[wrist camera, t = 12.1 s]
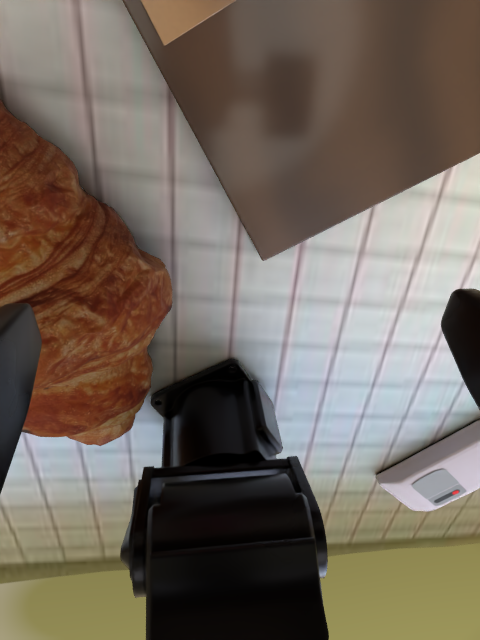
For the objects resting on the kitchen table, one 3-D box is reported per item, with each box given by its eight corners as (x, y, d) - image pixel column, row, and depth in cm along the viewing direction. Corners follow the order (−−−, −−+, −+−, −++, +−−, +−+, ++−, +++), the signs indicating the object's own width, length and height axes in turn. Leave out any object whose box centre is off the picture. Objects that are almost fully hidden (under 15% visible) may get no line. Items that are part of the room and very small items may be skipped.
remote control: (356, 484, 37) (369, 517, 34) (529, 389, 32) (558, 420, 30) (392, 510, 40) (405, 542, 38) (554, 428, 35) (581, 459, 33)
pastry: (263, 265, 23) (295, 361, 17) (117, 424, 29) (99, 539, 23) (-68, 28, 16) (-242, 36, 9) (-173, 305, 22) (-323, 427, 15)
